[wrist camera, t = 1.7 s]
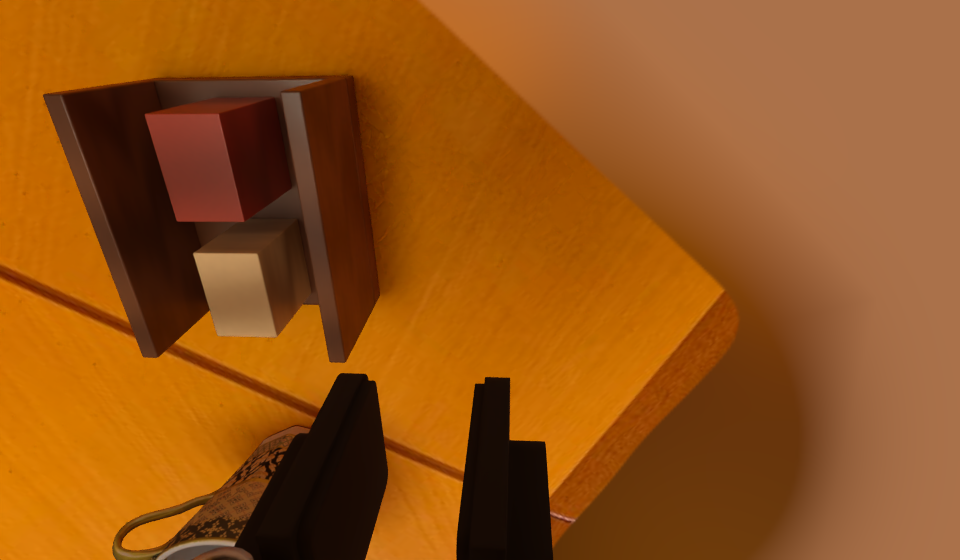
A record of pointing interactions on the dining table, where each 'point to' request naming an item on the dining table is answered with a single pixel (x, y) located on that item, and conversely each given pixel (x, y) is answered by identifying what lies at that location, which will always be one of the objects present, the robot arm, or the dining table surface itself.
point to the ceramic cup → (215, 508)
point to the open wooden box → (226, 202)
